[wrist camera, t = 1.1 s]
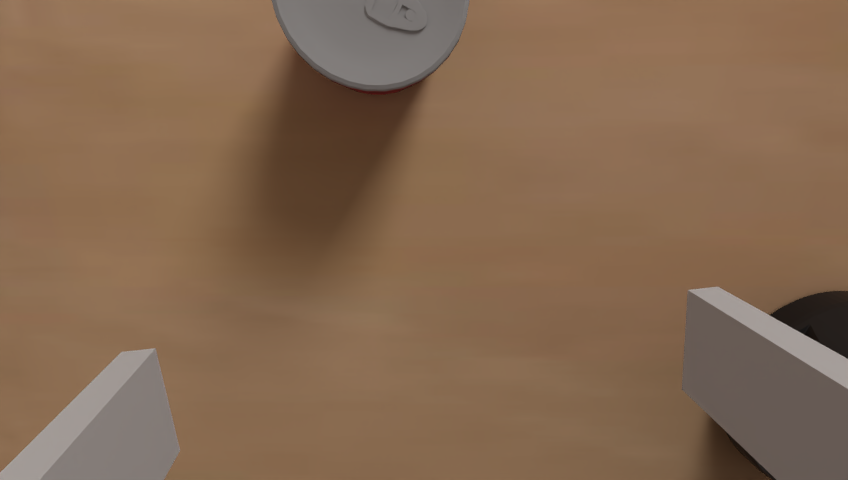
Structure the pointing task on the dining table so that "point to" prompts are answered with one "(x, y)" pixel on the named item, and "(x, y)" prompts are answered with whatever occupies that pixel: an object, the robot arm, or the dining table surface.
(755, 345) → the robot arm
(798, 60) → the dining table surface
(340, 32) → the canned food
